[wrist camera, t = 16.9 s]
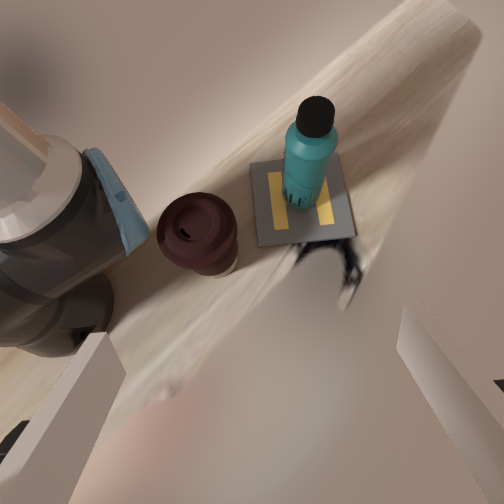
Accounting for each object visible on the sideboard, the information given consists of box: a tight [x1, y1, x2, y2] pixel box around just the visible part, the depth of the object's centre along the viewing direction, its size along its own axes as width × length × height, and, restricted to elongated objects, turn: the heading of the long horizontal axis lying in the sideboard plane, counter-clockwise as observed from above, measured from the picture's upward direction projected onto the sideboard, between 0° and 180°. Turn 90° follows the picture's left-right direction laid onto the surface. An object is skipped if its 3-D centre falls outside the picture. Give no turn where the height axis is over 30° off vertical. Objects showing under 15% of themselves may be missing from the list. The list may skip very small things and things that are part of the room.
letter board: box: [250, 153, 356, 247], centre depth 49 cm, size 16×16×1 cm
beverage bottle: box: [282, 96, 338, 209], centre depth 39 cm, size 6×7×20 cm
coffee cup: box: [157, 192, 238, 278], centre depth 40 cm, size 10×10×15 cm
